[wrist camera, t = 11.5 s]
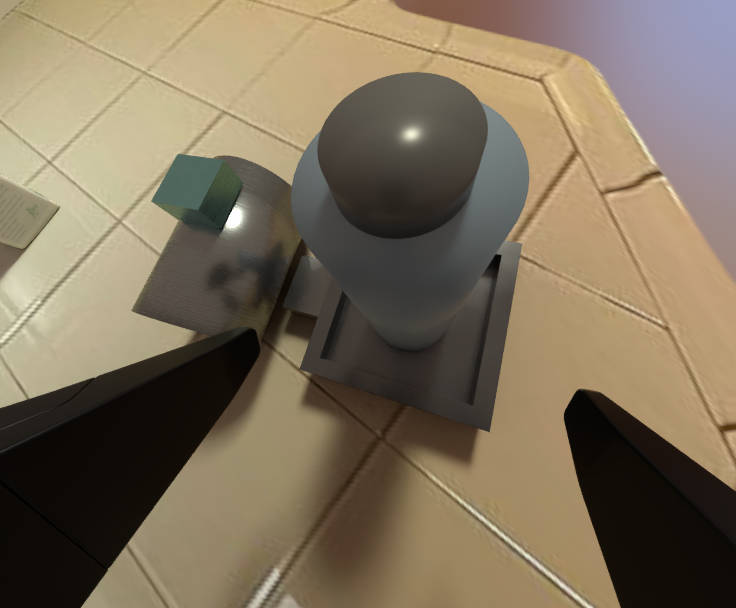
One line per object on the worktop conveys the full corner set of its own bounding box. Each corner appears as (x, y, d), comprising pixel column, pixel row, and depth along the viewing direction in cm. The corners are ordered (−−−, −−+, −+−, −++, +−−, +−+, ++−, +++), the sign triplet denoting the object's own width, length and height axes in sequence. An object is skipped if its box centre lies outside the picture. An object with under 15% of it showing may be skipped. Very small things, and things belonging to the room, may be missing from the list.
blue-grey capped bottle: (440, 361, 16) (531, 296, 3) (363, 339, 17) (226, 234, 5) (457, 285, 17) (572, 33, 5) (383, 270, 18) (316, 37, 6)
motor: (479, 425, 15) (549, 471, 7) (197, 333, 20) (59, 301, 12) (509, 259, 18) (586, 162, 10) (252, 212, 23) (166, 122, 15)
